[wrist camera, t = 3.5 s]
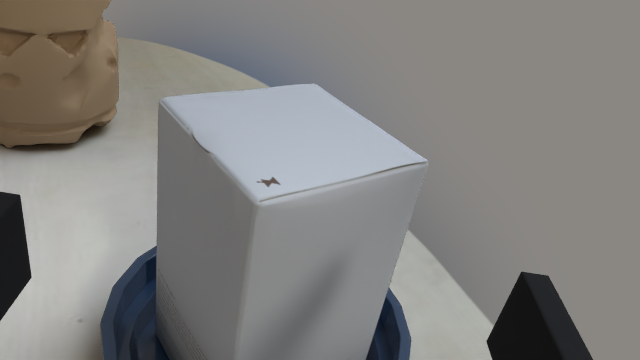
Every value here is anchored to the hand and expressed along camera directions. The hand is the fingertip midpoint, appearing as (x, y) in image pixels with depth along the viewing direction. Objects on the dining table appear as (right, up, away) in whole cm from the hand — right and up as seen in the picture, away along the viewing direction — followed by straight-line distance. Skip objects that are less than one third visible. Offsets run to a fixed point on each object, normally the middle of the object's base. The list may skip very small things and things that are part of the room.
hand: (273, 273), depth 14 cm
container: (-25, +8, +36) cm, 44 cm away
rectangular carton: (-2, -8, +16) cm, 18 cm away
